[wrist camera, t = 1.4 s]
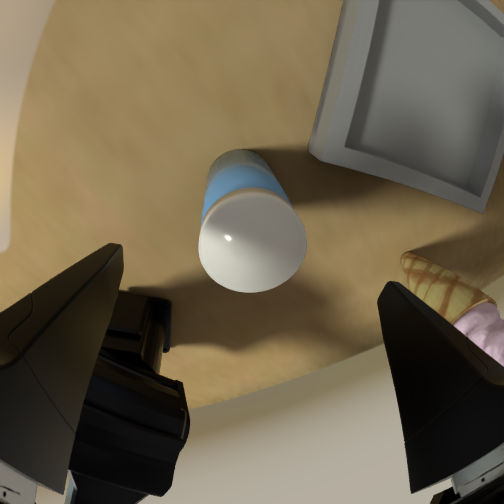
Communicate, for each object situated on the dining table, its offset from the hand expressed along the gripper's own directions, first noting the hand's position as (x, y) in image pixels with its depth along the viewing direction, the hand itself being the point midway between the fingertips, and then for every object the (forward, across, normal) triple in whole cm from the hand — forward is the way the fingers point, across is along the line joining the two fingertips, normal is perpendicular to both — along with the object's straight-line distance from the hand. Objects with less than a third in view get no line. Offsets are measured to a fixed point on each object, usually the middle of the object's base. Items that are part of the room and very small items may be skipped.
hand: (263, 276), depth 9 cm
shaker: (+12, 0, +2) cm, 12 cm away
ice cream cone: (+12, -16, +6) cm, 21 cm away
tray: (+13, -12, -10) cm, 20 cm away
